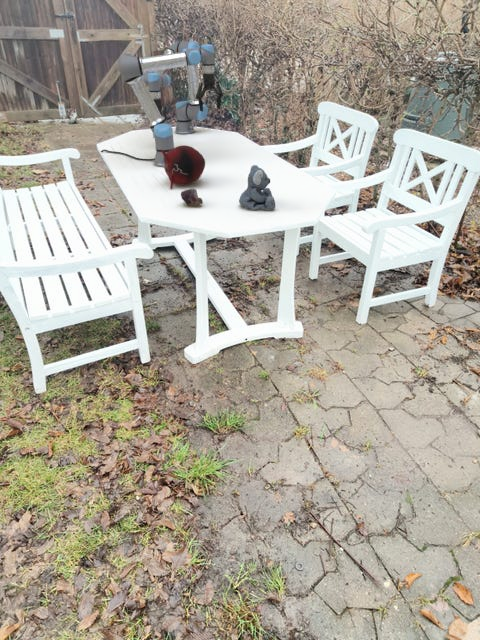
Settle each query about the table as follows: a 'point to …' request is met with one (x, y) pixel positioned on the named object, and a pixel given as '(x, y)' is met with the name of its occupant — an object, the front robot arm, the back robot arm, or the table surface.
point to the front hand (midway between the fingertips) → (210, 109)
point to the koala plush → (257, 191)
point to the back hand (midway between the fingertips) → (159, 133)
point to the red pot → (183, 165)
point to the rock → (191, 197)
